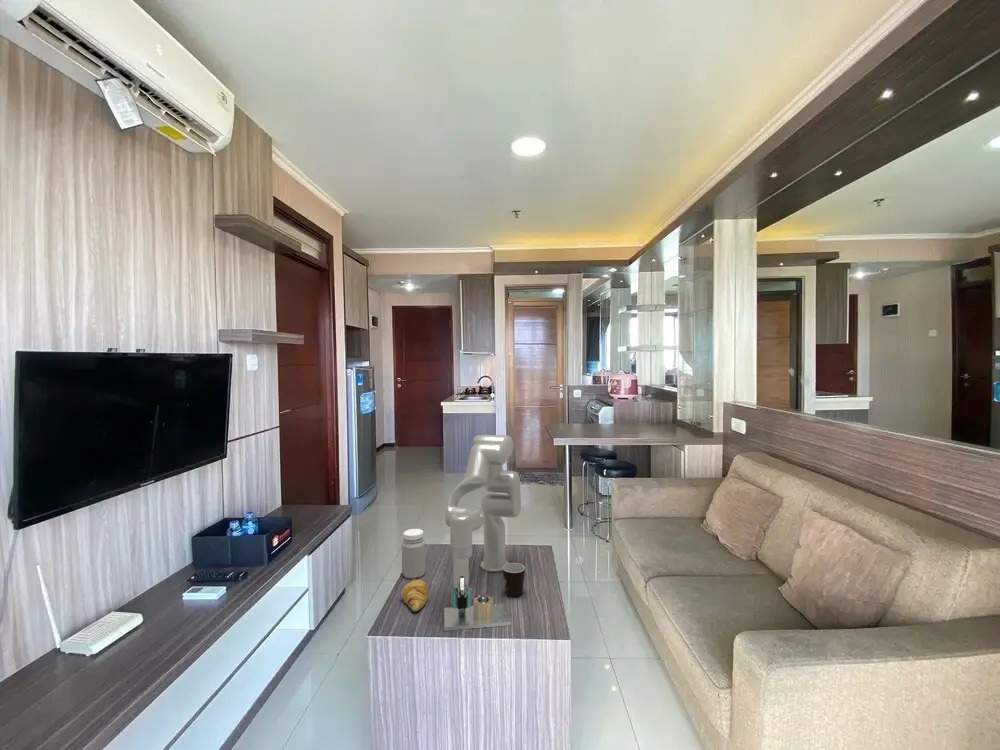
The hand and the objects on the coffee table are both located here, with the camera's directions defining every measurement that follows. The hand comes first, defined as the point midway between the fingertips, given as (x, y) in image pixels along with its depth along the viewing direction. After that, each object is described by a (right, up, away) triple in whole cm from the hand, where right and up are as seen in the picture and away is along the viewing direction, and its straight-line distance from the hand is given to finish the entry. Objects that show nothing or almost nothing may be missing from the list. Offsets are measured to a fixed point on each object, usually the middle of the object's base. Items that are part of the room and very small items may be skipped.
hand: (461, 602), depth 147 cm
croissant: (-19, -7, +14) cm, 24 cm away
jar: (-23, -7, +34) cm, 42 cm away
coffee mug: (+19, -6, +19) cm, 27 cm away
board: (+5, -6, +1) cm, 8 cm away
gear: (0, -1, 0) cm, 1 cm away
